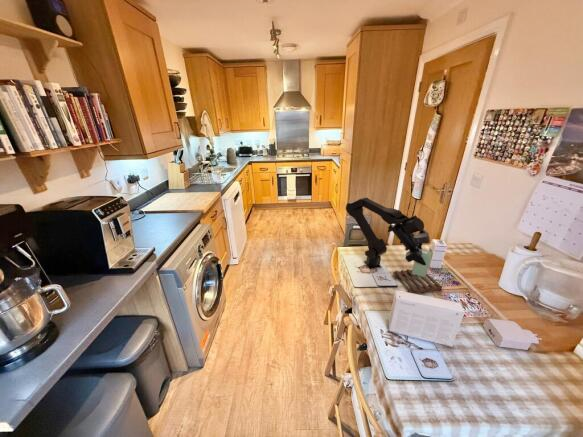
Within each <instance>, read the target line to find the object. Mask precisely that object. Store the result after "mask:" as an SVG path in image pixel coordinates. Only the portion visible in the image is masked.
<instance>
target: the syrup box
mask: <svg viewBox="0 0 583 437" xmlns="http://www.w3.org/2000/svg"><path fill="white" fill-rule="evenodd" d="M447 248H448V244H447V243H446V242H445V240H444V239H439V238H437V239H433V238H432V239H431V241H430V246H429V250H428V251H431V260H430V263H429V267H428V268H431V269H441V268H442V265H443V263H444V262H443V261H444V258H445V255H446V251H447Z"/></svg>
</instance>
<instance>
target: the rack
mask: <svg viewBox="0 0 583 437" xmlns="http://www.w3.org/2000/svg"><path fill="white" fill-rule="evenodd" d="M412 277H413V278H412ZM392 278H394V279H400V280H402V281H403V283H405V284H406V285H407V287H409V288H408V290H407V292H408V293H413V294H418V295H423V294H428V293H435V292H441V291H442V289H443V286H442V284H440V283H439V282H438V281H437V280H435V279H434V278H433V277H432V276H431V275H430V274H429V273H428V272H427V273H426V276H425V277H422V276H418V275H414V274H412V269H409V268H407V269H406V270H405V269H400V270H399V271H398V270H395V271H393V272H392ZM406 278H407V279H406ZM420 278H421V279H420ZM414 279H415V280H414ZM409 281H410V282H411V283H410V282H409ZM430 281H431V282H430ZM424 282H425V283H424ZM413 285H414V286H415V287H414V286H413Z"/></svg>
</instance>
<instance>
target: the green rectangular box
mask: <svg viewBox="0 0 583 437" xmlns="http://www.w3.org/2000/svg"><path fill="white" fill-rule="evenodd" d="M422 249H423V248H422ZM422 249H419V250H420V251H422V257H423V259H424V261H425V263H426V265H425V266H424V265H422V264H420V263H418V262H416V261H413V265H412V268H411V270H412V274H414V275H416V276H417V277H419V276H422V277H425V278H426V273H427V274H428V269H429V268H430V267H429V263H430V260H431V251H429V250H427V249H423V250H422Z"/></svg>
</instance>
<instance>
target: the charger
mask: <svg viewBox="0 0 583 437" xmlns="http://www.w3.org/2000/svg"><path fill="white" fill-rule="evenodd" d="M483 328H484V330H485V331H486V333H487V335H489V337H490V338H491V340H492V341H493V342H494V344H495V345H496V347H500V348H507V349H516V350H522V351H523V350H525V351H528V350H529V348H530V347H531V345H532V344H536V345H539V344H540V343H539V341H542V340H543V339H542V338H540V337H537V336H538V333H533V332H532V331H531V330H529V329H524V328H522V326H520V325H519V323H517V322H515V321H513V320H505V319H496V318H485V320H484V322H483Z"/></svg>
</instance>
